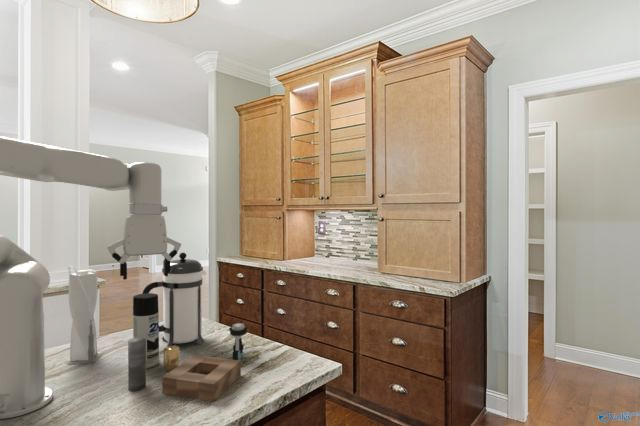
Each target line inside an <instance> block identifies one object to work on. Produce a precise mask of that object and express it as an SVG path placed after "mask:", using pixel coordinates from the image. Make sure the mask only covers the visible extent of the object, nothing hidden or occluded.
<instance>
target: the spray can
mask: <svg viewBox="0 0 640 426" xmlns="http://www.w3.org/2000/svg"><path fill="white" fill-rule="evenodd" d="M159 313H160V312H159V295H158V294H157V293H150V292H149V293H144V294H142V293H139V294H136V295H134V296H132V332H133V333H132V336H133V337H132V338H137V337H144V338H146V370H147V369H151V368H154V367H156V366H157V365H159V362H160V332H159V326H160V323H159V316H160V315H159Z"/></svg>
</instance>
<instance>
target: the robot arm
mask: <svg viewBox="0 0 640 426" xmlns="http://www.w3.org/2000/svg"><path fill="white" fill-rule="evenodd" d="M0 176H3V177H4V176H6V177H11V178H18V179H23V180H30V181H35V182H43V183H64V184H72V185H80V186H85V187H91V188H97V189H103V190H105V191H109V192H110V191H111V192H117V191H125V190H127V191H128V190H129V194H128V195H129V196H128V197H129V200H128V201H129V206H128V207H129V211H128V212H129V215H126V217H125V220H124V227H123V238H122V239H119V240H117V241H116V242H113V243H112V244H109V245H108V246H107V247H106V248H107V251H108V252H109V254H110V256H112V258H113V259H114V260H116V261H117V262H118V263H119V276H120V277H122V279H123V280H128V264H127V260H128V259H129V258H130V256H132V257H133V256H134V257H135V256H153V255H155V256H156V255H162V256H163V258H164V259H163V263H162V264H163V265H162V269H163V272H162V274H164V276H168V272H170V261H173V258H174V257H175V256H176V255H177V254H178V253H179V250H180V248H181V247H182V243H180V242H179V241H177V240H174V239H172V238H169V237H168V235H167V233H168V232H167V227H166V226H167V225H166V219H165V216H164V215H162V214H163V213H166V212H167V213H168V206H164V205H163V203H162V168H161V166H160V164H158V163H155V162H154V163H153V162H143V161H141V162H139V161H138V162H134V163H131V164H130V163H124V162H123V161H122V160H119V159H117V158H116V157H115V158H114V157H110V156H106V155H100V154H95V153H90V152H84V151H79V150H73V149H68V148H61V147H58V146H54V145H48V144H43V143H38V142H37V143H35V142H31V141H28V140H27V141H26V140H22V139H21V140H20V139H16V138H9V137H6V136H2V135H1V136H0ZM168 244H169V245H172V246H173V248H172V250H171V251H170V252H169V253H168ZM118 247H123V248H122V249H123V254H122V255H120V254H119V253H117V251H116V249H117V248H118ZM50 282H51V276H50V273H49V271H48V269H47V268H46V267H45V266H44V265H43V264H42V263H41V262H39V261H38V260H37V259H36V258H34V257H33V256H32V255H30V254H29V253H28V252H27V251H26V250H24V249H23V248H21V247H20V246H19V245H17V244H16V242H15V243H14V242H13V241H12V240H11V239H10V238H7V237H6V236H5V235H3V234H0V420H2V419H3V420H4V419H11V418H16V417H20V416H23V415H27V414H29V413H33V412H34V411H37V410H39V409H41V408H43V407H44V406H45V405H47V404H48V403H50V401H51V400H52V399H53V398H54V391H53V389H51V388H50V387H47V386H46V375H45V374H46V367H45V366H46V365H45V363H46V361H45V360H46V358H45V355H46V354H45V351H46V350H45V349H46V348H45V347H46V346H45V345H46V344H45V315H44V305H43V300H44V299H43V295H44V293H45V292H46V291H47V289H48V287H49V285H50Z"/></svg>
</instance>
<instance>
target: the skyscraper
mask: <svg viewBox="0 0 640 426" xmlns="http://www.w3.org/2000/svg"><path fill="white" fill-rule="evenodd" d="M67 269H68V304H69V310H70V315H71V319H72V323H71V330H70V332H71V333H70V344H69V345H70V346H69V347H70V351H69V361H68V362H67V364H66V365H81V364H82V365H83V364H94V363H95V362H96V361H97V360H98V359H99V358H100V357H101V356H102V355H103V354H104V353H103V352H98V345H97V344H98V343H97V341H98V340H97V338H98V337H97V330H96V322H95V310H96V308H97V307H96V306H97V299H98V272H97V271H96V270H94V269H93V268H92V269H91V268H89V269H81V270H77V269H76V268H75V266H72V265H69V266H68V267H67ZM71 269H73V270H74V273H72V272H71Z"/></svg>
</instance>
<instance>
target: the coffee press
mask: <svg viewBox="0 0 640 426" xmlns="http://www.w3.org/2000/svg"><path fill="white" fill-rule="evenodd" d="M178 257H179V259H172V260H171V261H170V272H168V276H164V274H163V268H162V269H161V272H162V274H163V275H162V277H163V278H162V281H154V282H153V281H152V282H150V283H149V284H147V285H146V286H145V287H144V289H143V290H142V293H141V294H144V293H150V292H151V290H153V289H157V288H161V287H162V288H163V291H162V293H163V294H162V295H163V296H162V298H163V299H162V300H163V301H162V302H163V303H162V306H163V308H162V309H163V311H162V313H163V323H162V325H159V333H160V332H163V336H162V341H163V342H166V343H167V342H168V344H167V347H169V346H177V344H186V343H191V342H194V341H195V342H196V343H197V344H198V345H199V346H201V345H203V344H204V343H205V340H204V338H203V336H202V332H203V331H202V330H203V329H202V326H203V323H202V322H203V320H202V319H203V317H202V316H203V310H202V309H203V308H202V307H203V306H202V305H203V303H202V302H203V294H202V293H203V292H202V291H203V290H202V289H203V276H206V275H207V272H206V271H205V270H204V267H203V265H202V264H201V262H200V261H198V260H196V259H190V258H188V259H186V258H187V253H185V252H180V253H179V255H178Z"/></svg>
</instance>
